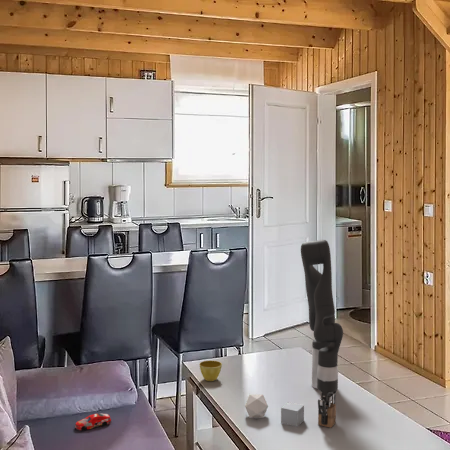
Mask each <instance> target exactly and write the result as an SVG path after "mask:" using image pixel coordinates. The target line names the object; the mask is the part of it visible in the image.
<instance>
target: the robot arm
mask: <svg viewBox="0 0 450 450" xmlns="http://www.w3.org/2000/svg"><path fill="white" fill-rule="evenodd" d="M300 256H301V261H302V266H303V271H304V272H303V273H304V279H305V280H304V281H305V283H304V284H305V291H306V298H307V304H308V325H309V329H310V330H311V331H312V332H313V341H312V347H311V349H312V352H311V353H312V354H311V355H312V356H311V387H312V388H314V389H316V390H318V391H320V393H321V394H320V398H319V399H317V409H318V410H319V414H321V423H322V424H324V425H327V424H328V409H329V408H330V404H336V401H337V400H336V399H337V391H338V388H339V369H338V368H339V367H338V362H339V361H338V359H339V351H340V347H341V344H342V341H343V336H344V329H343V326H342V325H341V324H340V323H339V322H336V317H335V312H336V310H335V304H334V303H335V302H334V296H333V295H334V294H333V282H332V281H333V279H332V258H331V248H330V244H329V242H328V240H326V239H318V240H310V241H309V240H308V241H303V243H301V246H300ZM314 265H322V273H321V272H320V271H319V270H318V269H316V268H315V266H314ZM326 405H328V406H326ZM318 410H317V411H318ZM323 410H324V411H323Z"/></svg>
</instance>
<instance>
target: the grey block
mask: <svg viewBox="0 0 450 450" xmlns="http://www.w3.org/2000/svg"><path fill="white" fill-rule="evenodd" d="M304 421H305V404H300V403H295V402H290V401H287V402H286V403H285V404H284V405H283V406H281V407H280V424H283V425H286V426H287V425H288V426H292V427H295V428H298V426H300V425H301V424H302V423H303V422H304Z"/></svg>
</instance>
